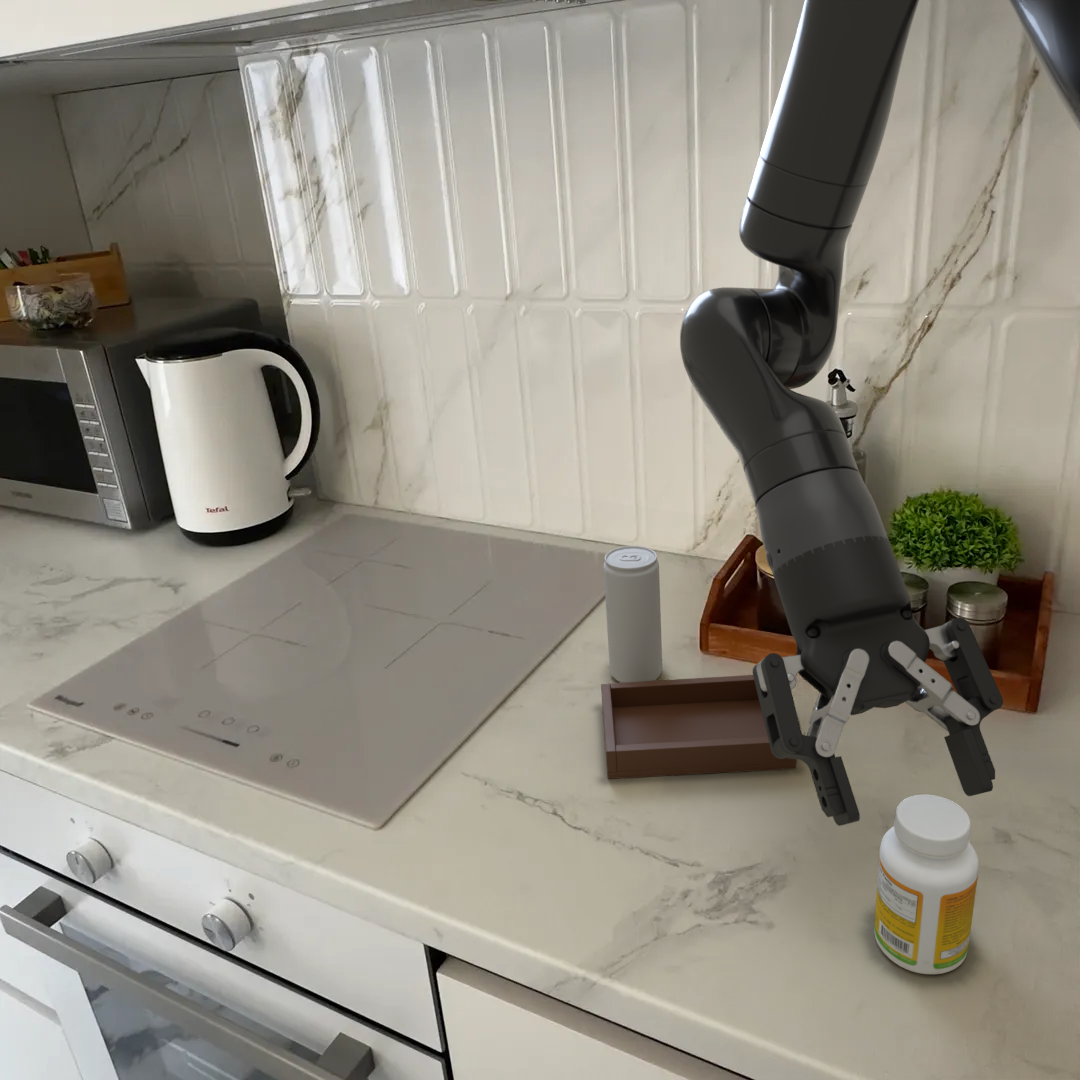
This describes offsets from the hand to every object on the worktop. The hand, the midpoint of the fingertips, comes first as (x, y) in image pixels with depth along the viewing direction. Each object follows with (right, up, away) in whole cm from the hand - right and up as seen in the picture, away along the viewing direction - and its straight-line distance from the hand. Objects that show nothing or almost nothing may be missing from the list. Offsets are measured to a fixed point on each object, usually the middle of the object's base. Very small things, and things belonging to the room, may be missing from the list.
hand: (915, 808), depth 57 cm
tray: (-10, 0, +23) cm, 25 cm away
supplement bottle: (+1, -9, +2) cm, 9 cm away
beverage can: (-13, +3, +32) cm, 35 cm away
